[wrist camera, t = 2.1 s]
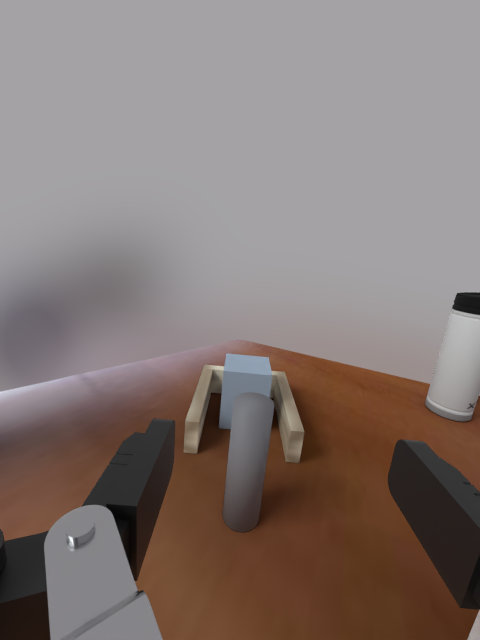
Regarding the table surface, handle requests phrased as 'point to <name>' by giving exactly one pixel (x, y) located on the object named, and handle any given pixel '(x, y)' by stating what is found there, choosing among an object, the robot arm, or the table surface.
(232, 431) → the block
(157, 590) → the table surface
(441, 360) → the travel mug
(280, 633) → the table surface
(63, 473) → the table surface
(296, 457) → the frame
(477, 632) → the milk
